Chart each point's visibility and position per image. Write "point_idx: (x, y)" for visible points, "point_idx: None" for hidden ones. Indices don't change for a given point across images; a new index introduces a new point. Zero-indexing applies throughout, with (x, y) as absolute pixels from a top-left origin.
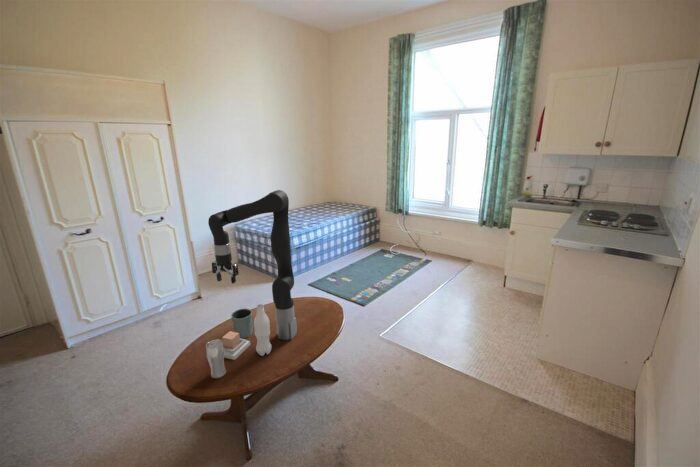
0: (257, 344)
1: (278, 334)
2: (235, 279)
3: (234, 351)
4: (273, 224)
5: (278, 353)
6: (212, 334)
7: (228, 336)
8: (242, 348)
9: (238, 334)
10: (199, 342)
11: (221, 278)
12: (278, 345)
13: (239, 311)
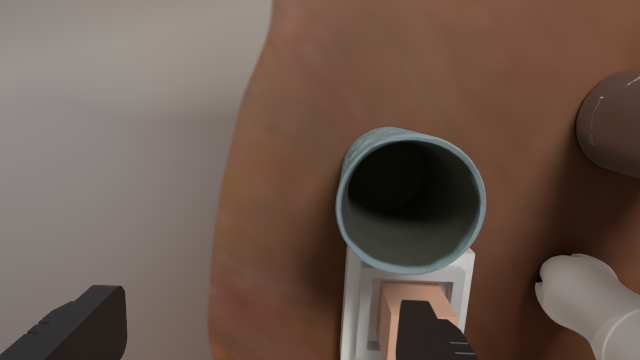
0: (570, 325)
1: (609, 167)
2: (469, 356)
3: None
4: None
5: (630, 268)
6: (224, 222)
7: None
8: (466, 310)
9: (455, 321)
10: (210, 293)
11: (108, 297)
12: (610, 215)
13: (360, 161)
